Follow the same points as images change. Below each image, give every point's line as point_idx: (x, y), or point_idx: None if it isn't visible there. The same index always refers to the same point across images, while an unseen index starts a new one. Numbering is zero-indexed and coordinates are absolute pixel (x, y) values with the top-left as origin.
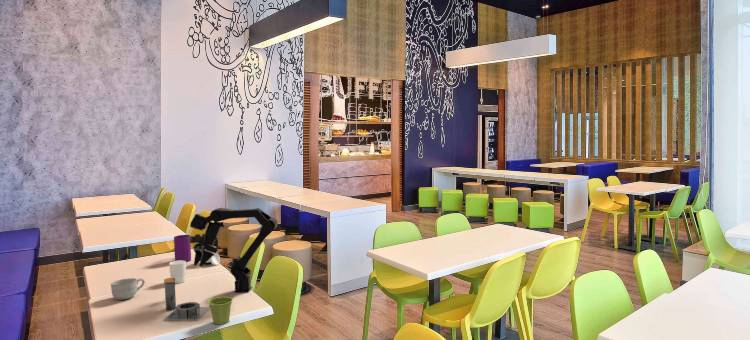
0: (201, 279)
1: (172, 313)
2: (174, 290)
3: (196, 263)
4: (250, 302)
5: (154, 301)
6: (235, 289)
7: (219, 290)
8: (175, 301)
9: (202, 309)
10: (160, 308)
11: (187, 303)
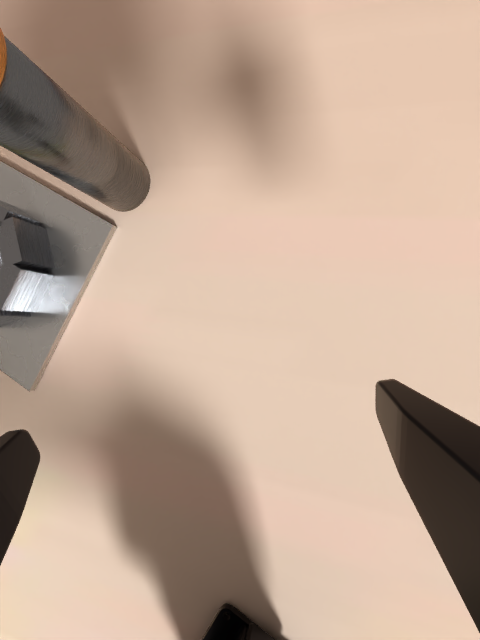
0: None
1: (32, 190)
2: (17, 154)
3: (389, 437)
4: (12, 604)
5: (320, 75)
6: (247, 626)
7: (334, 524)
8: (87, 194)
9: (12, 343)
10: (162, 125)
11: (3, 261)
